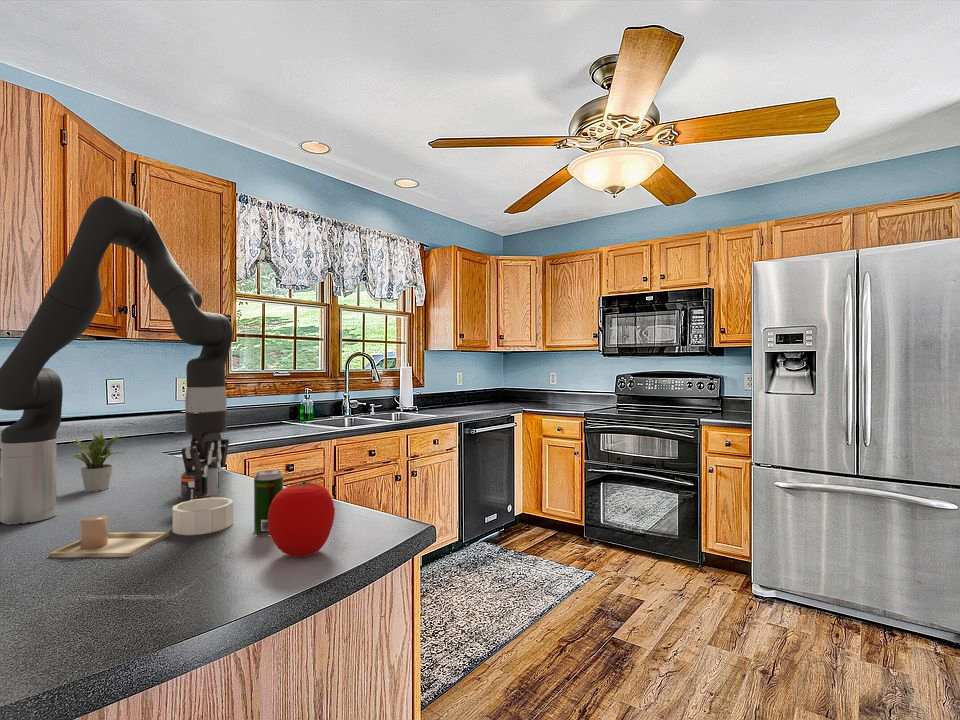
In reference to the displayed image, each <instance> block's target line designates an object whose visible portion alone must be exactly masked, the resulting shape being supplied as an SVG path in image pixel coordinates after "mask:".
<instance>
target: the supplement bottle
mask: <svg viewBox="0 0 960 720" xmlns="http://www.w3.org/2000/svg"><path fill="white" fill-rule="evenodd" d="M192 468H193V466H191V469H192ZM201 468H202V465H201ZM184 471H185V470H184ZM180 478H181V479H180V503H181V502H186V501H190V500H195V499H203V498H211V495H209V496H195V494H194V477H192V476H187V475H186V471H185V472H183V473H181V477H180Z"/></svg>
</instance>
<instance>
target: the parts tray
mask: <svg viewBox="0 0 960 720" xmlns="http://www.w3.org/2000/svg"><path fill="white" fill-rule="evenodd" d="M169 536H170V535H169V532H164V531H163V532H162V531H161V532H159V531H156V532H155V531H153V532H151V531H150V532H148V531H146V532H145V531H144V532H141V531H139V532H128V531H127V532H108V544H107V545H106V546H104V547H101V548H97V549H92V550H82V549H80V541H81V539H79V540H76V541H73V542H71V543H69V544H67V545H65V546H62V547H60V548H58V549H56V550H53V551H51V552H49V553H48V558H53V559H55V558H59V559H61V558H64V559H65V558H131V557H133V556H135V555H137V554H139V553H140V552H143V551H144V550H145V549H146V550H147V548H150V547H152V546H154V545H155V544H157V543H159V542H160V541H162V540H164V539H166V538H168V537H169Z"/></svg>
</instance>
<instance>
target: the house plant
mask: <svg viewBox="0 0 960 720" xmlns="http://www.w3.org/2000/svg"><path fill="white" fill-rule="evenodd" d="M91 433H92V435H93V439H92V440H91V441H89V443H88V448H87V446H86V445H85V444H84V443H83V442H82V441H81V440H79V439H77V438H74V437H72V439H73V440H74V441H73V443H75V445H77V446H78V447H79V448H80V449H82V450H81V451H80V454H79V455H78V454H74V455H73V456H72V458H75V459H77V460H80V461H82V462H83V463H84V464H85V465H86V466H83V467H80V472H81V476H82V477H81V478H82V483H83V487H84V491H85V490H86V491H95V492H97V491H96V490H102V491H104V490H103V489H106V490H108V489H109V488H110V482H111V477H112V472H113V464H112V463H111V464H109V463H105V461H106V459H107V458H109V456H111V455H113V454H122V455H125V453H123V452H124V451H125V449H122V450H121V451H115V452H112V451H113V450H114V449H115V447H113V448H112V445H113V444H116V443H118V442H121V441H123V439H120V438H121V437H123V436H124V434H123V433H120V434H118V435H115V436H113V437H112V438H111V439H110V440H109V441H108V442H107V443H105V442H106V439H107V437H106V438H104V435H103V432H102V430H101V429H100V431H99V434H98V435H95V433H94V431H91ZM127 435H128V436H129V435H130V433H129V434H128V433H127V434H126V436H127ZM117 439H120V440H117ZM114 456H115V455H114ZM114 456H112V458H114ZM107 488H108V489H107ZM86 491H85V492H86Z"/></svg>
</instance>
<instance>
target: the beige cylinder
mask: <svg viewBox="0 0 960 720" xmlns="http://www.w3.org/2000/svg"><path fill="white" fill-rule="evenodd" d="M108 518H109V517H108V515H94V516H88V517H85V518H82V519H81V520H80V540H81V541H80V549H82V550H92V549H97V548H101V547H104V546H106V545H107V544H108V533H109V525H108V524H109V522H108V521H109V519H108Z"/></svg>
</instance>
